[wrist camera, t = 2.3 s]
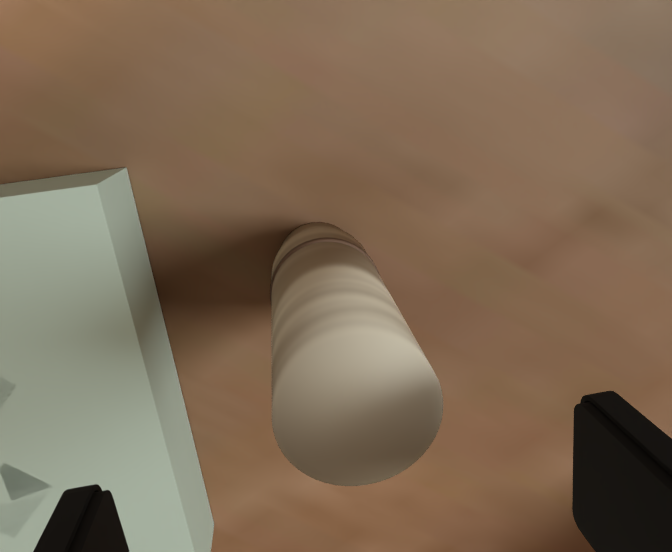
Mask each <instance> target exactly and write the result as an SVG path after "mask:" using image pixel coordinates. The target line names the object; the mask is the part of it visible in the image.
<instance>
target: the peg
mask: <svg viewBox="0 0 672 552" xmlns="http://www.w3.org/2000/svg"><path fill="white" fill-rule="evenodd" d="M270 300H271V306H272V426H273V431H274V435H275V439H276V441H277V443H278V446H279V448H280V449H281V451H282V452H283V454H284V456H285V457H286V458H287V459H288V460H289V461H290V463H291V464H293V465H294V466H295V467H296V468H297V469H298V470H300V471H301V472H303V473H304V474H306V475H308V476H310V477H312V478H314V479H316V480H319V481H322V482H325V483H329V484H333V485H341V486H360V485H368V484H372V483H377V482H380V481H383V480H386V479H388V478H391V477H393V476H395V475H397V474H399V473H400V472H402V471H404V470H405V469H407V468H408V467H410V466H411V465H412V464H413V463H415V462H416V461H417V460H418V459H419V458H420V457H421V456H422V455H423V454H424V453H425V451H426V450H427V449H428V448H429V446H430V445H431V443H432V441H433V440H434V438H435V436H436V434H437V432H438V429H439V426H440V423H441V420H442V413H443V397H442V390H441V387H440V384H439V381H438V379H437V377H436V375H435V373H434V371H433V369H432V367H431V365H430V364H429V362H428V360H427V358H426V357H425V355H424V353H423V351H422V350H421V348H420V346H419V344H418V343H417V341H416V339H415V337H414V336H413V334H412V332H411V330H410V328H409V327H408V325H407V323H406V321H405V320H404V318H403V316H402V314H401V313H400V311H399V309H398V307H397V306H396V304H395V302H394V300H393V299H392V297H391V295H390V293H389V292H388V290H387V288H386V286H385V284H384V283H383V281H382V279H381V277H380V274H379V272H378V270H377V268H376V266H375V264H374V263H373V261H372V260H371V258H370V257H369V256H368V255H367V253H366V251H365V249H364V248H363V246H362V245H361V244H360V243H359V242H358V241H357V240H356V239H355V238H354V237H353V236H351V235H350V234H348V233H346V232H344V231H343V230H341V229H340V228H338V227H336V226H334V225H332V224H328V223H323V222H314V223H308V224H305V225H302V226H300V227H298V228H297V229H295V230H294V231H293V232H291V233H290V234H289V235H288V236H287V238H286V239H285V240H284V242H283V244H282V246H281V248H280V250H279V251H278V253H277V255H276V257H275V259H274V262H273V266H272V276H271V285H270Z"/></svg>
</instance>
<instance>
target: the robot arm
mask: <svg viewBox="0 0 672 552" xmlns="http://www.w3.org/2000/svg"><path fill="white" fill-rule="evenodd" d="M572 509H573V516H574V519H575V522H576V524H577V526H578V528H579V530H580V531H581V532H582V534H583V535H584V537H585V538H586V539H587V541H588V542H589V543H590V545H591V546H592V547H593V549H594V550H595V552H672V439H671V438H670V437H669V436H667V435H666V434H665V433H664V432H663V431H661V430H660V429H659V428H658V427H657V426H655V425H654V424H653V423H652V422H651V421H649V420H648V419H647V418H646V417H645V416H643V415H642V414H641V413H640V412H639V411H637V410H636V409H635V408H634V407H633V406H631V405H630V404H629V403H628V402H627V401H625V400H624V399H623V398H622V397H621V396H619V395H618V394H617V393H615V392H614V391H606V392H601V393H595V394H590V395H585V396H583V397H582V399H581V403H580V404H577V405H576V406H575V408H574V443H573V507H572ZM33 552H130V551H129V548H128V545H127V541H126V538H125V535H124V532H123V528H122V525H121V522H120V519H119V515H118V512H117V509H116V505H115V502H114V499H113V496H112V493H111V492H110V491H109V490H104V491H102V489H101V487H100V486H99V485H97V484H94V485H88V486H83V487H77V488H72V489H67V490H65V491H64V492H63V494H62V496H61V498H60V500H59V501H58V503H57V505H56V507H55V509H54V511H53V513H52V515H51V517H50V519H49V521H48V523H47V525H46V527H45V529H44V531H43V533H42V535H41V537H40V539H39V541H38V543H37V545H36V547H35V549H34V551H33Z"/></svg>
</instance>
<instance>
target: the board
mask: <svg viewBox="0 0 672 552" xmlns="http://www.w3.org/2000/svg"><path fill="white" fill-rule="evenodd" d="M94 484H97V485H99V486H100V487H101V489H102V491H104V490H109V491H110V492H111V493H112V496H113V499H114V502H115V505H116V509H117V512H118V515H119V519H120V522H121V525H122V528H123V532H124V535H125V538H126V541H127V545H128V548H129V551H130V552H211V545H212V537H213V529H214V522H213V518H212V513H211V509H210V505H209V501H208V497H207V493H206V489H205V485H204V481H203V477H202V473H201V469H200V465H199V461H198V457H197V453H196V448H195V444H194V440H193V436H192V432H191V428H190V424H189V420H188V416H187V412H186V408H185V404H184V400H183V396H182V392H181V387H180V383H179V379H178V375H177V371H176V367H175V363H174V359H173V355H172V351H171V347H170V343H169V339H168V335H167V331H166V327H165V322H164V318H163V314H162V310H161V306H160V302H159V298H158V294H157V290H156V286H155V282H154V278H153V274H152V270H151V266H150V261H149V257H148V253H147V249H146V245H145V241H144V237H143V233H142V229H141V225H140V221H139V217H138V213H137V209H136V205H135V200H134V196H133V192H132V188H131V184H130V180H129V176H128V172H127V168H118V169H111V170H104V171H96V172H89V173H81V174H74V175H67V176H59V177H52V178H44V179H37V180H30V181H22V182H15V183H7V184H0V552H33V551H34V549H35V547H36V545H37V543H38V541H39V539H40V537H41V535H42V533H43V531H44V529H45V527H46V525H47V523H48V521H49V519H50V517H51V515H52V513H53V511H54V509H55V507H56V505H57V503H58V501H59V500H60V498H61V496H62V494H63V492H64V491H65V490H67V489H72V488H77V487H83V486H88V485H94Z"/></svg>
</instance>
